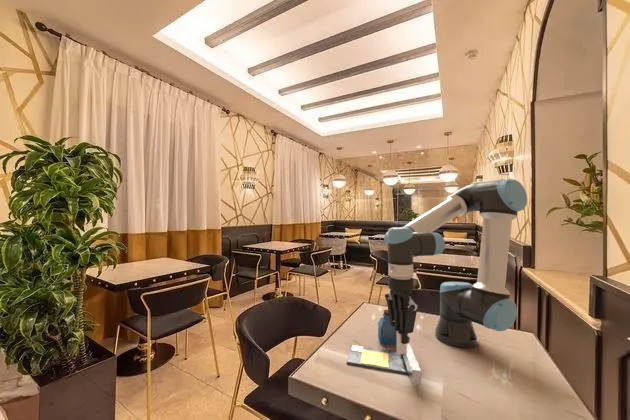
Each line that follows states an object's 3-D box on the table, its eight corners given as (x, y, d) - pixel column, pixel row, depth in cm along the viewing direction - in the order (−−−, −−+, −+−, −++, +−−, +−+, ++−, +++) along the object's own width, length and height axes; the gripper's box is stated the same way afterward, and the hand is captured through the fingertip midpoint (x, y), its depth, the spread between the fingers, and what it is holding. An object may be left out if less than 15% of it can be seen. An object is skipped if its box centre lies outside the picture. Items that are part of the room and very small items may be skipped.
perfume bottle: (393, 338, 107) (393, 308, 107) (396, 345, 101) (397, 314, 101) (378, 337, 107) (378, 308, 108) (380, 344, 101) (380, 313, 102)
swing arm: (399, 348, 94) (399, 334, 94) (408, 349, 93) (408, 335, 93) (410, 384, 74) (410, 366, 74) (422, 385, 73) (422, 367, 73)
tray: (413, 356, 93) (413, 350, 93) (416, 376, 81) (416, 369, 81) (351, 346, 99) (351, 341, 99) (346, 363, 87) (346, 357, 87)
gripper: (377, 273, 86) (378, 345, 86) (406, 283, 74) (407, 366, 74) (395, 271, 89) (396, 340, 89) (425, 280, 77) (427, 360, 77)
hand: (401, 352), depth 81 cm, fingers closed
